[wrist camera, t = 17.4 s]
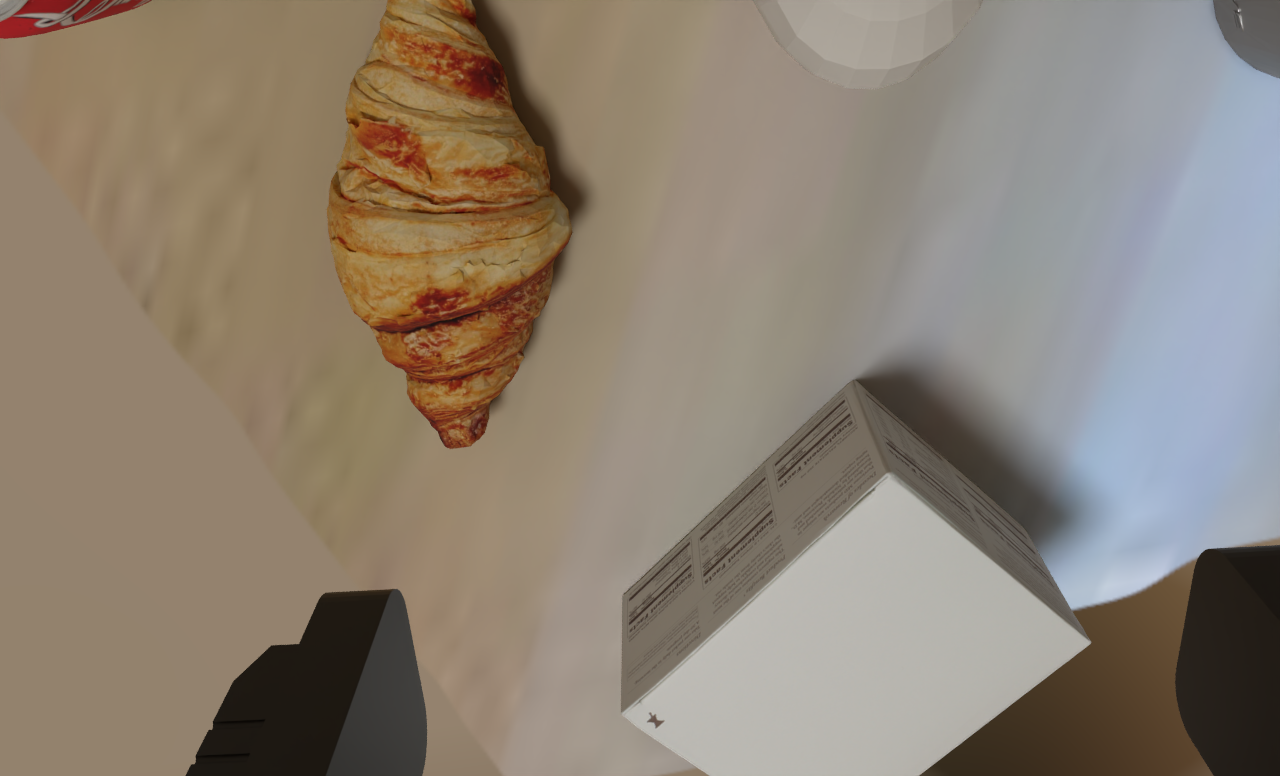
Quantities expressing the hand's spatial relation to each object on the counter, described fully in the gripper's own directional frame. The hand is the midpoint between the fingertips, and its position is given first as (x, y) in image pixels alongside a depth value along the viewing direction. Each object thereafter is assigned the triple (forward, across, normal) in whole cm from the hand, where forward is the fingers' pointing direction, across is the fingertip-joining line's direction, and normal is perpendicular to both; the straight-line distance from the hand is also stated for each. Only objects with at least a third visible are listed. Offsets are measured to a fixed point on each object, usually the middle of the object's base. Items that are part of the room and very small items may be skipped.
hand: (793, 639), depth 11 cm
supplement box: (+38, -6, +26) cm, 47 cm away
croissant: (+38, +10, +6) cm, 40 cm away
